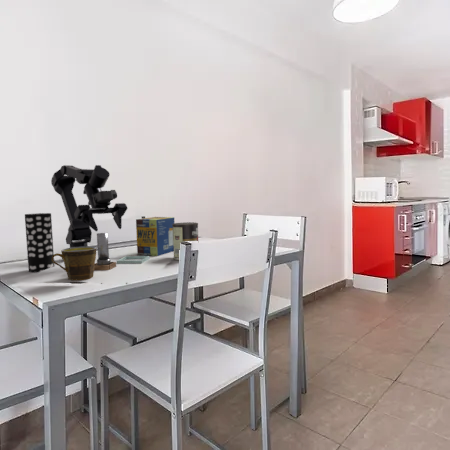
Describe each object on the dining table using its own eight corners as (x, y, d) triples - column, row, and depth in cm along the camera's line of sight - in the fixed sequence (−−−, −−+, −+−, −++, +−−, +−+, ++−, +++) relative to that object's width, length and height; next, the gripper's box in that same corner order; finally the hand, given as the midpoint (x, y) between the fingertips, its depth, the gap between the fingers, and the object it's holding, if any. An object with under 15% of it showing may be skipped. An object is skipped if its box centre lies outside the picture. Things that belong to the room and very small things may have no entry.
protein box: (136, 255, 161) (135, 219, 160) (156, 249, 175) (155, 216, 174) (157, 256, 157) (156, 219, 156) (176, 250, 171) (174, 216, 170)
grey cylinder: (95, 269, 127) (93, 234, 126) (100, 266, 132) (98, 232, 131) (107, 269, 127) (105, 234, 126) (112, 266, 131) (111, 232, 130)
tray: (116, 266, 137) (116, 260, 137) (126, 261, 147) (125, 256, 147) (142, 265, 136) (141, 260, 136) (149, 261, 146) (149, 256, 146)
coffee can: (202, 256, 155) (201, 222, 154) (195, 260, 145) (194, 224, 143) (178, 255, 157) (177, 222, 156) (169, 260, 147) (168, 224, 146)
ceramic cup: (90, 275, 122) (89, 245, 121) (103, 281, 114) (101, 248, 113) (48, 282, 113) (46, 250, 112) (59, 288, 106) (56, 253, 105)
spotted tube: (28, 273, 128) (24, 215, 126) (28, 269, 135) (24, 214, 134) (55, 270, 132) (51, 213, 130) (53, 266, 139) (50, 212, 137)
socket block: (90, 272, 126) (90, 265, 126) (99, 268, 133) (98, 261, 133) (109, 272, 126) (109, 265, 126) (117, 268, 132) (116, 261, 132)
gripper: (77, 182, 131) (91, 218, 125) (125, 182, 144) (140, 214, 138) (68, 201, 138) (81, 236, 132) (115, 200, 150) (128, 232, 145)
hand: (109, 229), depth 136 cm, fingers open, 9 cm apart
